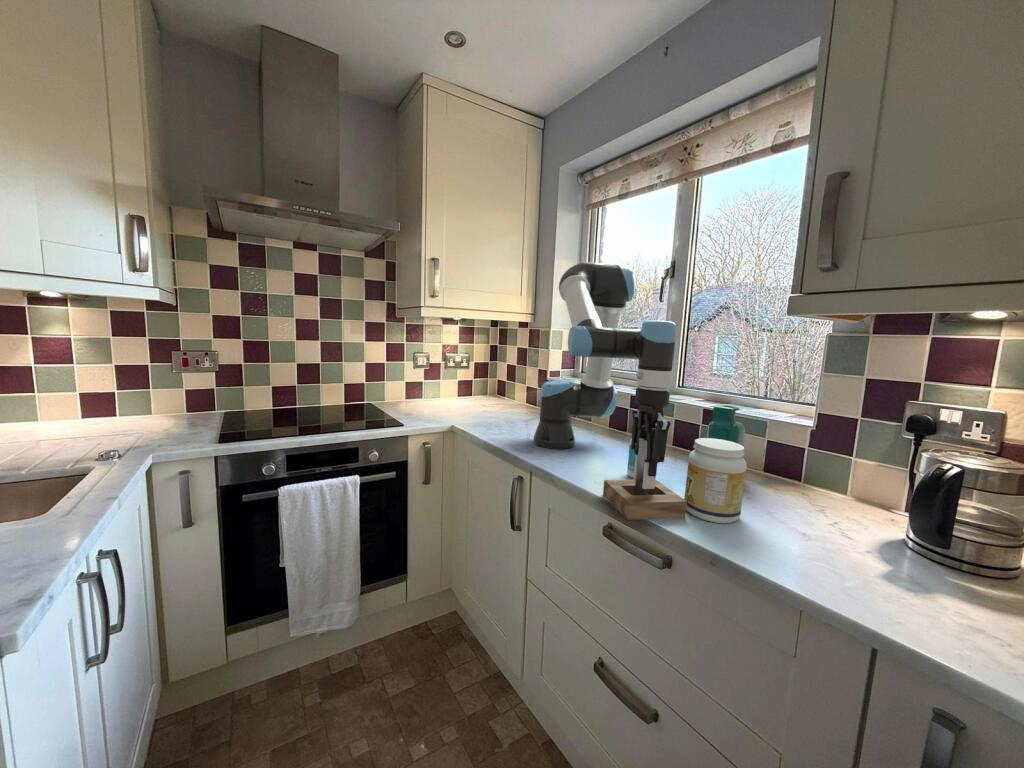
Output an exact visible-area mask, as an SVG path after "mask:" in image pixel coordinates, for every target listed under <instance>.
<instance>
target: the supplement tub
mask: <svg viewBox="0 0 1024 768" xmlns="http://www.w3.org/2000/svg"><path fill="white" fill-rule="evenodd" d="M693 449H694V450H692V451H691V452H690V453H689V454H688V464H687V471H686V480H685V482H686V483H685V489H684V498H683V499H684V500H686V501H687V506H686V512H688V513H689V514H691V515H692V516H694V517H696V518H699V519H700V520H703V521H707V522H710V523H717V524H732V523H735V522H736V521H738V520H739V519H740V517H741V515H742V514H741V513H742V506H743V496H744V488H745V480H746V475H747V474H746V473H747V469H748V467H747V462H746V460H745V459H744V458H743V457H744V456H745V447H744V445H743V446H742V445H740V444H737V443H734V442H731V441H727V440H721V439H713V438H707V437H700V438H696V439H694V445H693Z"/></svg>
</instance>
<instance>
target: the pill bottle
mask: <svg viewBox="0 0 1024 768" xmlns="http://www.w3.org/2000/svg"><path fill="white" fill-rule="evenodd" d="M631 441H632V438H631V439H630V440H629V447H628V448H629V449H628V456H627V457H628V461H627V471H626V473H627V476H629V477H630V478H631V479H634V469H635V458H636V454H635V453H634V450H632V449H631ZM635 445H636V444H635Z"/></svg>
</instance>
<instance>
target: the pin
mask: <svg viewBox="0 0 1024 768" xmlns="http://www.w3.org/2000/svg"><path fill="white" fill-rule="evenodd" d="M644 460H647V437H640V438H639V449H638V460H637V470H636V481H635V492H634V495H651V490H652V489H643V488H642V486H643V475H644V465H645V461H644Z"/></svg>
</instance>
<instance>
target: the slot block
mask: <svg viewBox="0 0 1024 768" xmlns="http://www.w3.org/2000/svg"><path fill="white" fill-rule="evenodd" d="M633 480H634V479H604V480H603V490H602V491H603V492H602V496H603V497H604V498H605V499H606V500H607V501H608V502H609V503H610V504H611V505H612V506H613V507H614V508H615V509H616V510H617V511H618V512H619V513H620V514H621V515H622V516H623V517H624V518H625V519H626V520H627V521H640V520H647V521H648V520H669V519H671V520H672V519H686V514H687V510H686V506H687V501H686V500H684V498H683V497H681V496H680V495H678V494H677V492H674V491H672V489H670V488H669V487H667V486H666V485H664V484H663V483H661V482H660V481H658V480H657V479H655V489H652V490H651V495H634V492H635V482H634V481H633Z"/></svg>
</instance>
